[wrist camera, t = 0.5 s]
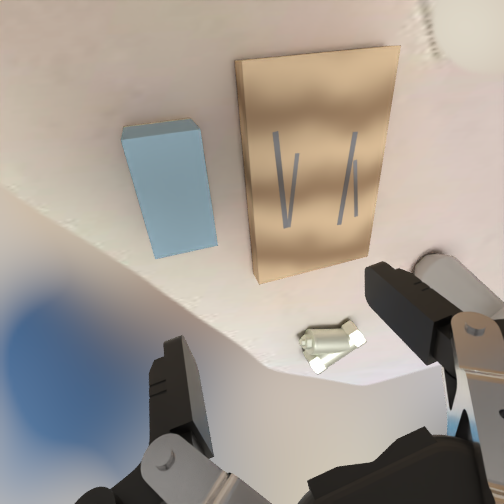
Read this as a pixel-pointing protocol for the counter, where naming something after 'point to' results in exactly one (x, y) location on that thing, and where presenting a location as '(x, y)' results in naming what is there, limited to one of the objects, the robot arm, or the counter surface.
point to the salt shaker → (458, 285)
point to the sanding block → (171, 185)
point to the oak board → (313, 154)
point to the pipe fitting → (330, 345)
